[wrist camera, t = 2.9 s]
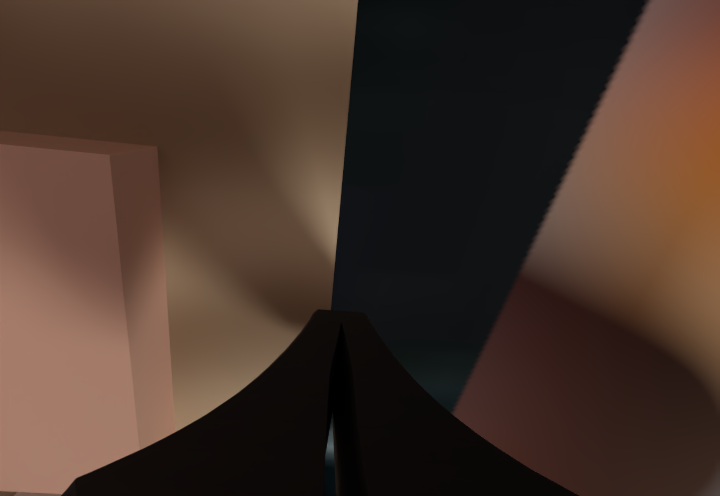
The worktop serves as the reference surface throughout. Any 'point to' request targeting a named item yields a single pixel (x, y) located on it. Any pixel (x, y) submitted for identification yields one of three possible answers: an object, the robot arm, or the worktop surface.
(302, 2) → the oak deck
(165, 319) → the terracotta tile
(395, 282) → the worktop surface
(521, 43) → the worktop surface
